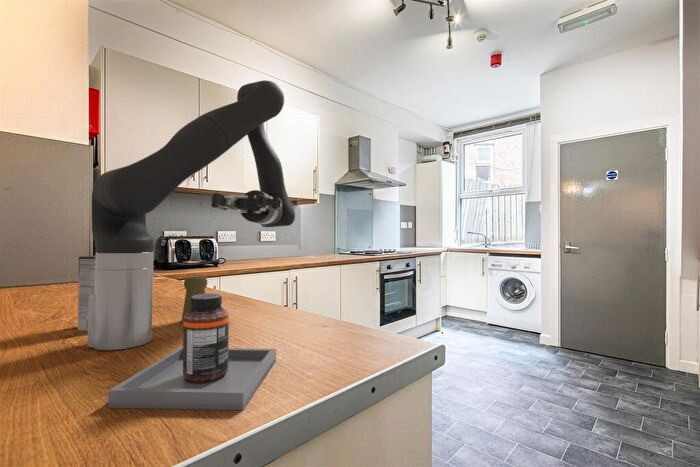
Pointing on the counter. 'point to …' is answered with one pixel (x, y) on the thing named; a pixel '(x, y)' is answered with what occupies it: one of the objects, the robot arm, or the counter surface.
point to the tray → (177, 393)
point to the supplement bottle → (205, 339)
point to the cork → (193, 290)
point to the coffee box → (85, 289)
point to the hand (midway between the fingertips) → (236, 198)
